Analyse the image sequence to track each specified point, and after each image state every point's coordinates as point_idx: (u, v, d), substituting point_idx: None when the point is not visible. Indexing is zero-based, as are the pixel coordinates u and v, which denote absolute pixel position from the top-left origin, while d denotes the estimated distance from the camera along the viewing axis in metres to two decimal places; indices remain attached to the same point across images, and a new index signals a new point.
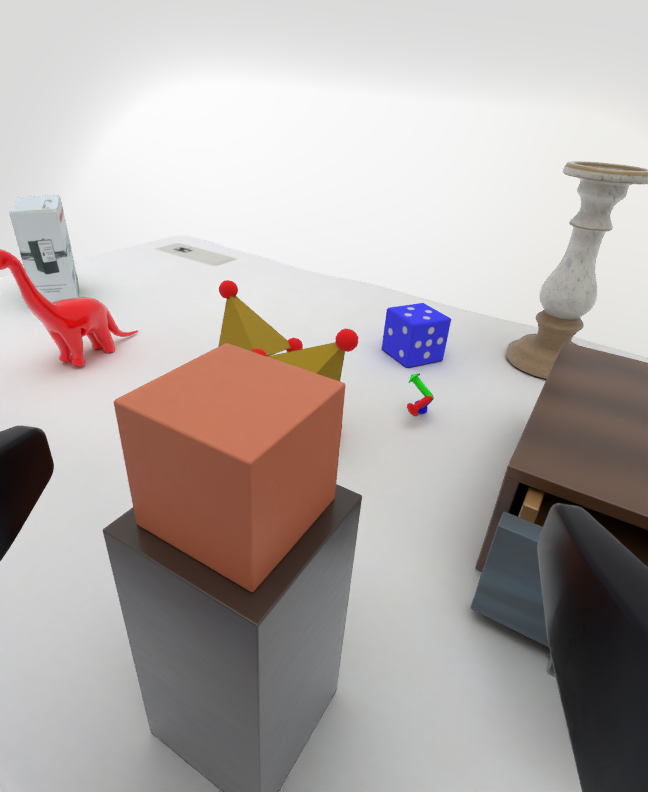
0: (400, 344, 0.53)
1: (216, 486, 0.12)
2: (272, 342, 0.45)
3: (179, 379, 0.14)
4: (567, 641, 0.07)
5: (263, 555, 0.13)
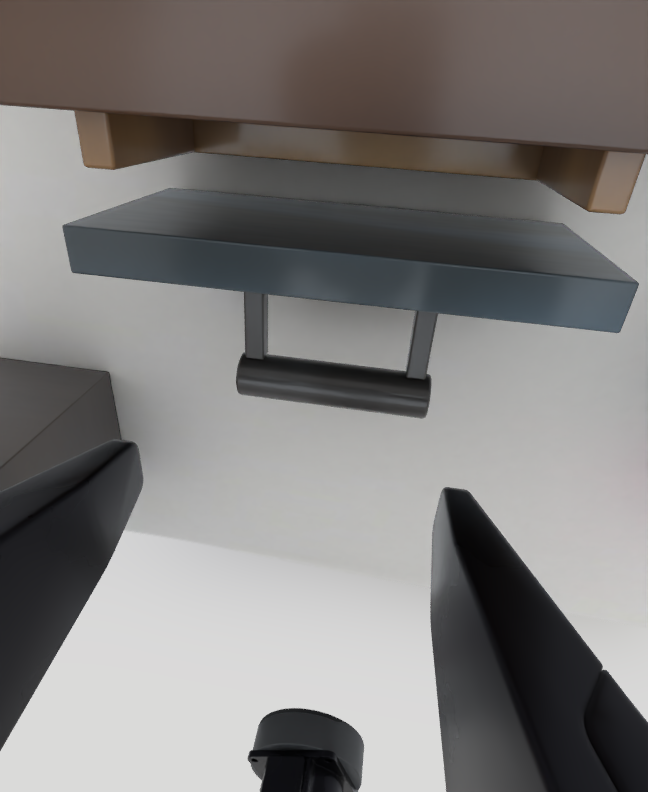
0: None
1: None
2: None
3: None
4: (440, 619, 0.07)
5: None
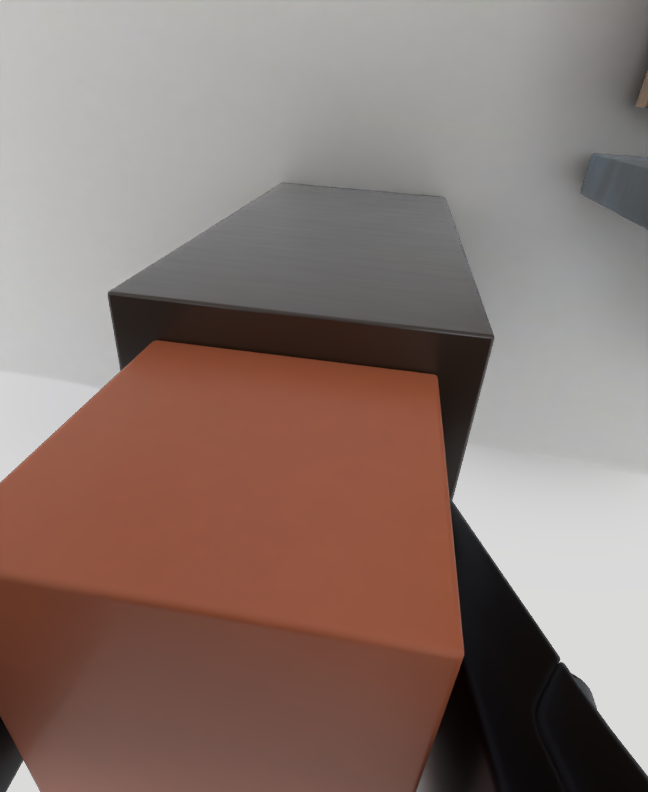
0: None
1: None
2: None
3: (50, 735, 0.06)
4: None
5: None
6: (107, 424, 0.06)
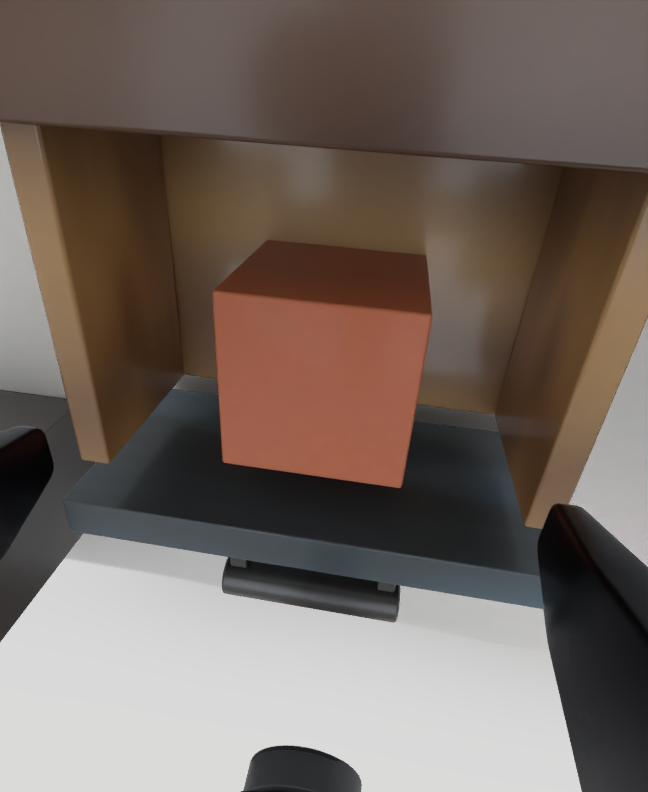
0: None
1: None
2: None
3: (241, 405, 0.12)
4: (567, 641, 0.07)
5: None
6: (262, 263, 0.12)
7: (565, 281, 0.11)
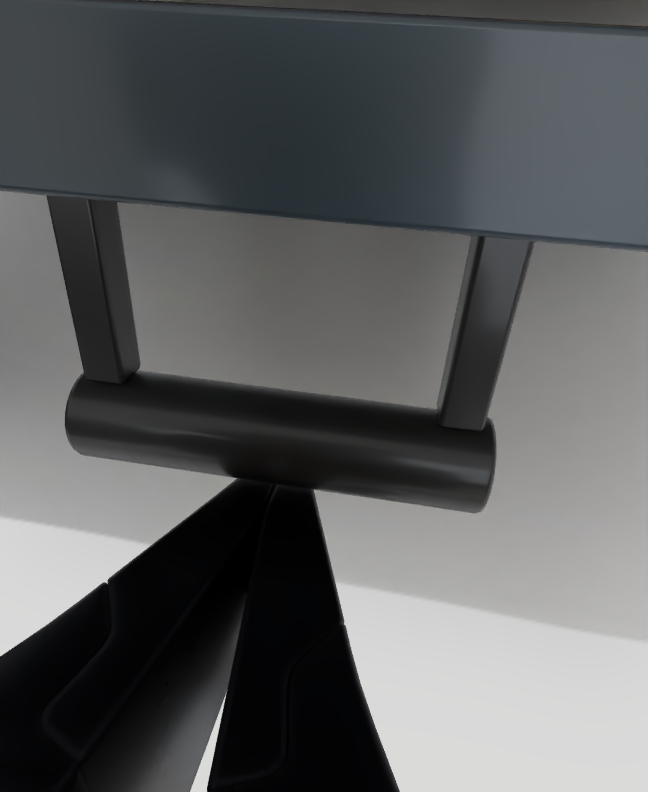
0: None
1: None
2: None
3: None
4: None
5: None
6: None
7: None
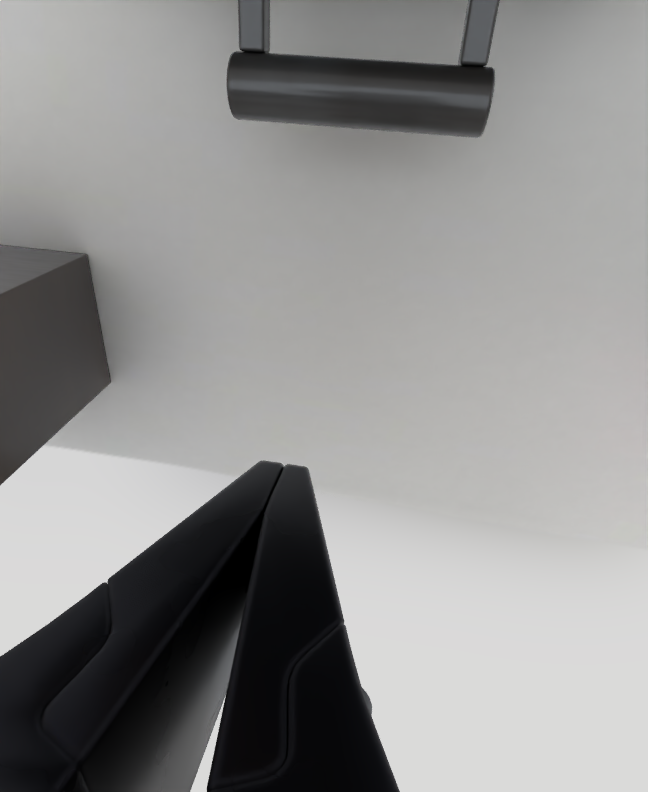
0: None
1: None
2: None
3: None
4: None
5: None
6: None
7: None
